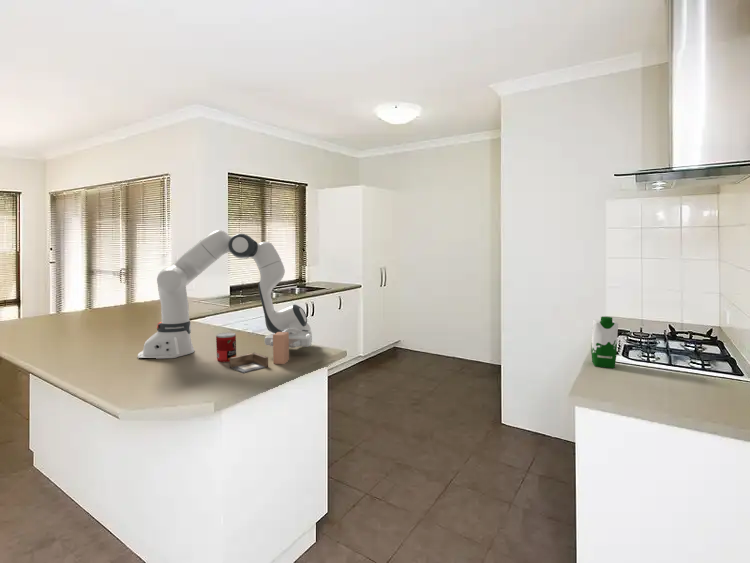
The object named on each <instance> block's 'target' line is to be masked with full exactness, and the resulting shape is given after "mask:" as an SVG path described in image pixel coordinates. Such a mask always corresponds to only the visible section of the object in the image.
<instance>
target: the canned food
mask: <svg viewBox="0 0 750 563" xmlns="http://www.w3.org/2000/svg"><path fill="white" fill-rule="evenodd" d="M236 337H237V335H236V333H235V332H230V331H229V332H228V331H227V332H220V333H217V334H216V335H215V342H216V345H215V346H216V359H217V361H218V362H221V363H228V362H229V363H230V358H231V357H236V356H237V338H236Z"/></svg>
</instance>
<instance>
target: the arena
mask: <svg viewBox="0 0 750 563" xmlns="http://www.w3.org/2000/svg"><path fill="white" fill-rule="evenodd" d="M229 368H230V369H232V370H235V371H237V372H240V373H242V374H245V373H249V372H254V371H257V370H261V369H265V368H269V357H268V356H266V355H263V354H260V353H256V352H251V353H246V354H242V355H236V357H231V358H230V362H229Z"/></svg>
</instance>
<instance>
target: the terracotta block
mask: <svg viewBox="0 0 750 563" xmlns="http://www.w3.org/2000/svg"><path fill="white" fill-rule="evenodd" d="M273 334H274V335H273V346H272V355H273V359H272V360H273V364H275V365H285V364H286V363H287V362H288V360H289V361H290V347H289V332H285V331H282V332H277V333H273Z"/></svg>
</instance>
